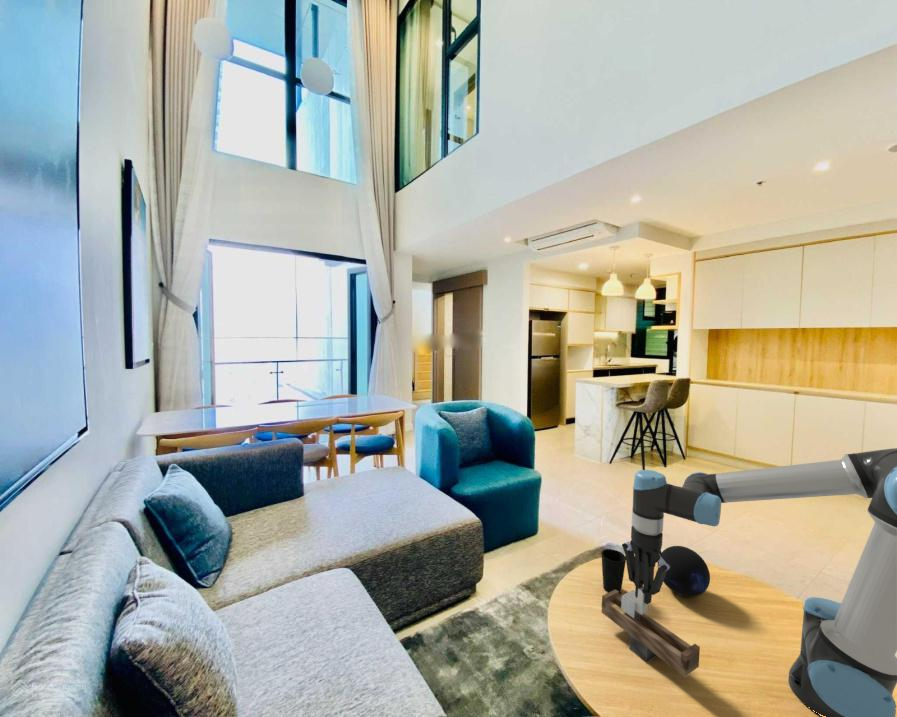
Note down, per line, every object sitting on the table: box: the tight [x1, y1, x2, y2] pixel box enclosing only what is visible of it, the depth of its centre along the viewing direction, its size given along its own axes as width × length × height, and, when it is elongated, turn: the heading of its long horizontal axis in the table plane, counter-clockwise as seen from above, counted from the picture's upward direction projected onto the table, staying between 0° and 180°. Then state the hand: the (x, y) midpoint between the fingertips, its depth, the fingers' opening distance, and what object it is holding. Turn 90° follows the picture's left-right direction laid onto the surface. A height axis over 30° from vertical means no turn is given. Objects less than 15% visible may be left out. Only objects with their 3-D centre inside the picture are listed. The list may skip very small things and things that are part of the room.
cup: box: [600, 548, 627, 595], centre depth 128 cm, size 8×8×12 cm
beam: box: [601, 589, 701, 678], centre depth 103 cm, size 24×6×9 cm, turn 29°
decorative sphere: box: [657, 545, 711, 598], centre depth 127 cm, size 15×15×15 cm
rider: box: [621, 589, 641, 622], centre depth 106 cm, size 4×5×7 cm
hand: (642, 611), depth 103 cm, fingers closed
